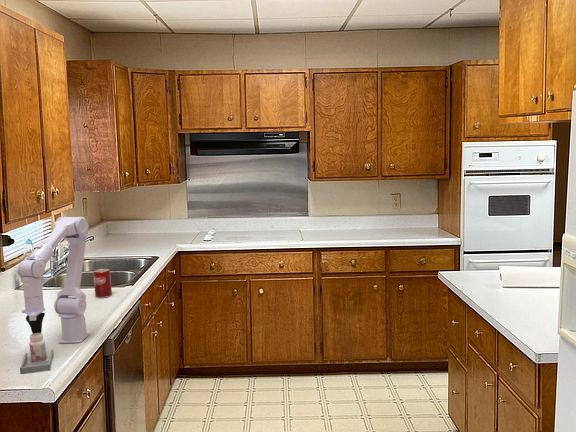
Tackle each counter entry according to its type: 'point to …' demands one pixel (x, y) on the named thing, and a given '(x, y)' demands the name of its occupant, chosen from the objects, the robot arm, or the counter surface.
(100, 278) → the soda can
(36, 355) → the pill bottle
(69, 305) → the robot arm
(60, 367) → the counter surface
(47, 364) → the tray
